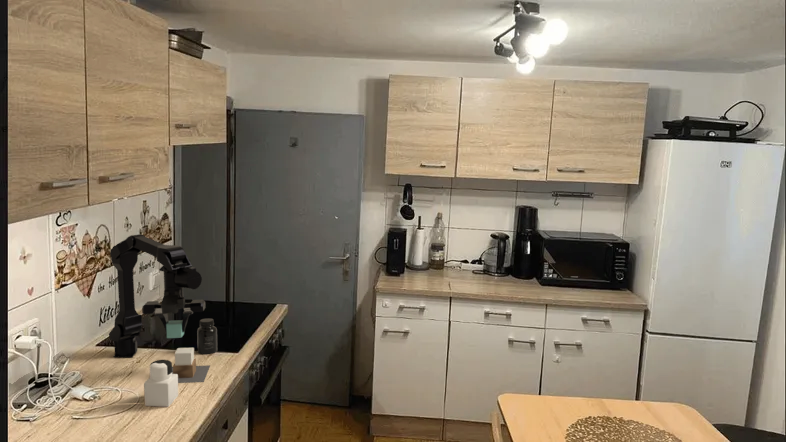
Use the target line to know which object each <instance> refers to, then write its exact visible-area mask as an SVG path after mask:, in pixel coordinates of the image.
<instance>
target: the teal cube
mask: <svg viewBox="0 0 786 442" xmlns="http://www.w3.org/2000/svg"><path fill="white" fill-rule="evenodd" d="M182 322H183V319H182V320H168V323H167V324H166V329H167V332H166V339H179V338H183V336H184V335H185V331H184V332H182Z"/></svg>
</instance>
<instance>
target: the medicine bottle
mask: <svg viewBox="0 0 786 442" xmlns="http://www.w3.org/2000/svg"><path fill="white" fill-rule="evenodd" d="M172 367H173V363H172V362H171V361H170V360H168V359H158V360H155V361H153V362H151V363H150V364H149V377H148V379H146V380H145V381H144V382H143V392H144V394H143V395H144V396H143V397H144V407H163V408H164V407H166V408H167V407H168V408H169V407H170V406H171V405H172V404H173V403H174V401H175V400H176V399H177V398H178V397H179V383H178V374H172Z"/></svg>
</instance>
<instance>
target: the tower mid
mask: <svg viewBox="0 0 786 442" xmlns="http://www.w3.org/2000/svg"><path fill="white" fill-rule="evenodd" d="M194 359H195V347H178V348H176V350H175V352H174V364H175V366H177V365H192V362H193V360H194Z"/></svg>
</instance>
